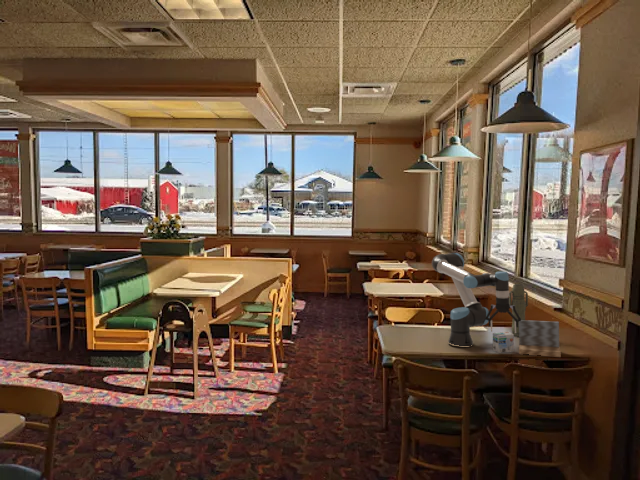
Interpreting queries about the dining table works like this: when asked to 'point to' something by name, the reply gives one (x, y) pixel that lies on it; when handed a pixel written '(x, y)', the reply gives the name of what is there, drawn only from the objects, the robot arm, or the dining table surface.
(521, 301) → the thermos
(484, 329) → the dining table surface
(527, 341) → the wall board
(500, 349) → the light bulb box
